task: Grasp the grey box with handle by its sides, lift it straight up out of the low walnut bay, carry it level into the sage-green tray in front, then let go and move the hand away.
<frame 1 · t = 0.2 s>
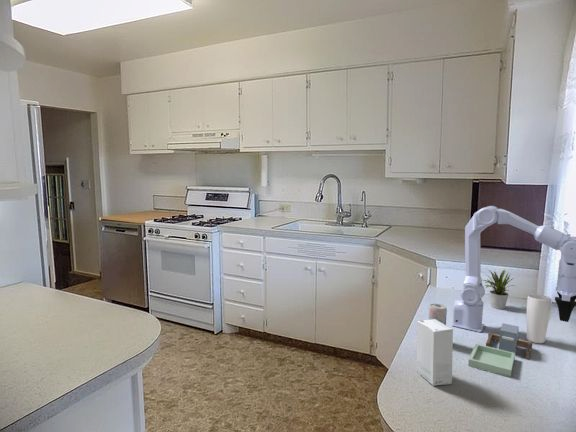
hand: (564, 317, 122), 10 cm above the countertop, tool pointing down, fingers open, 7 cm apart
grey box with handle: (508, 339, 121), in the bay
house plant: (496, 306, 162), on the countertop
skincare box: (432, 378, 104), on the countertop
energy drink: (435, 342, 126), on the countertop
bay: (507, 349, 122), on the countertop
tray: (491, 362, 113), on the countertop
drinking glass: (535, 341, 129), on the countertop
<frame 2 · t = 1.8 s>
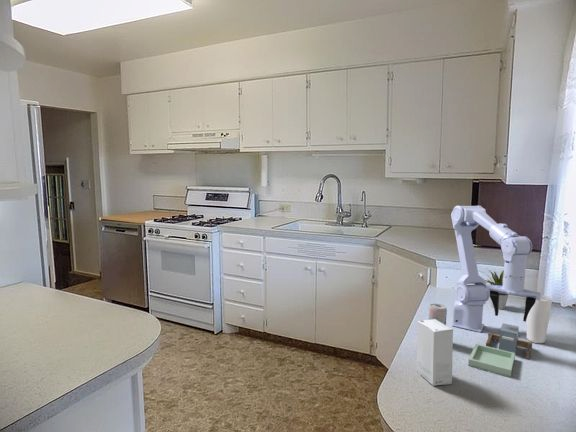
hand: (510, 317, 121), 10 cm above the countertop, tool pointing down, fingers open, 7 cm apart
nothing on the countertop moved.
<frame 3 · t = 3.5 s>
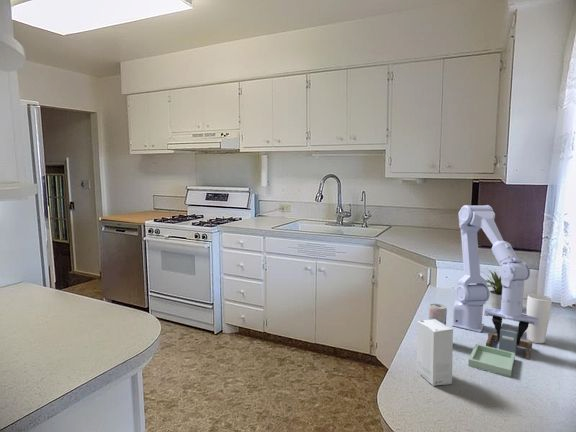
hand: (508, 341, 121), 2 cm above the countertop, tool pointing down, fingers closed on grey box with handle, 4 cm apart
grey box with handle: (508, 339, 121), in the bay, touching gripper
everything else where it was.
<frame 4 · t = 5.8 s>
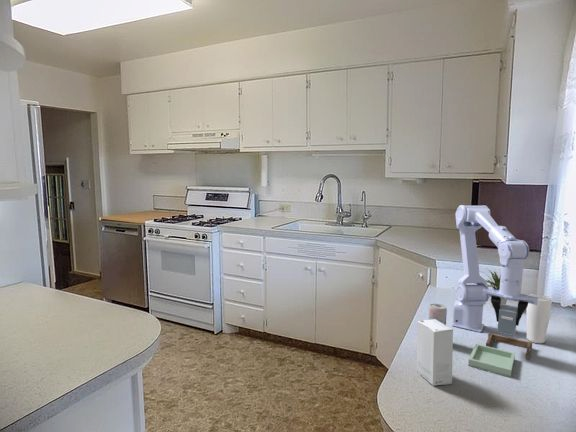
hand: (507, 322, 119), 9 cm above the countertop, tool pointing down, fingers closed on grey box with handle, 4 cm apart
grey box with handle: (507, 319, 119), point 10 cm above the countertop, touching gripper
everything else where it was.
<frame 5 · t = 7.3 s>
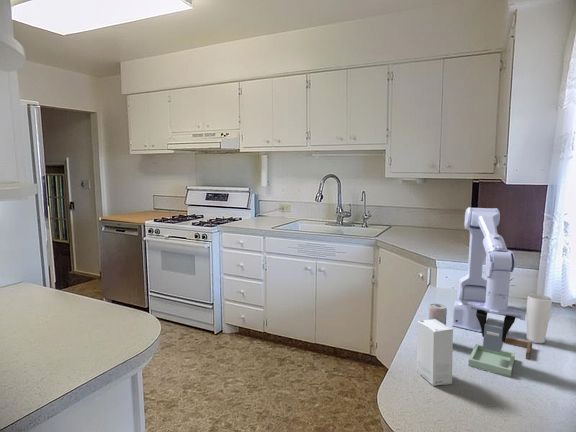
hand: (493, 338, 112), 8 cm above the countertop, tool pointing down, fingers closed on grey box with handle, 4 cm apart
grey box with handle: (493, 334, 112), point 8 cm above the countertop, touching gripper
everything else where it was.
when the fingers open (4 cm above the countertop, at t = 8.5 s): grey box with handle stays where it is, resting on tray.
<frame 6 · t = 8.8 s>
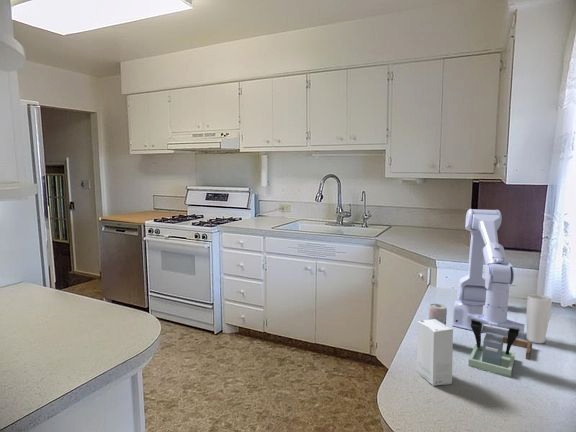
hand: (492, 349, 112), 4 cm above the countertop, tool pointing down, fingers open, 7 cm apart
grey box with handle: (492, 349, 112), in the tray
everything else where it was.
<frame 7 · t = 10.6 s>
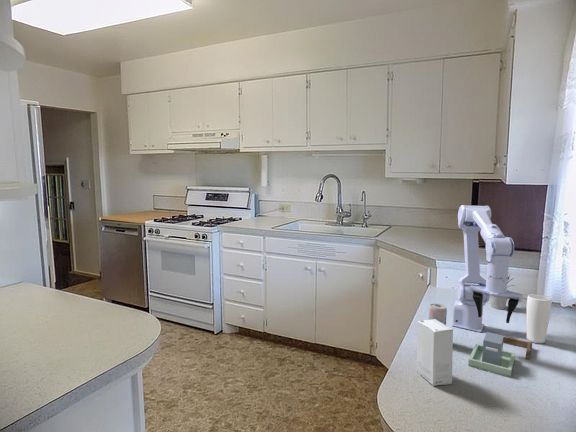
hand: (493, 319, 119), 10 cm above the countertop, tool pointing down, fingers open, 7 cm apart
nothing on the countertop moved.
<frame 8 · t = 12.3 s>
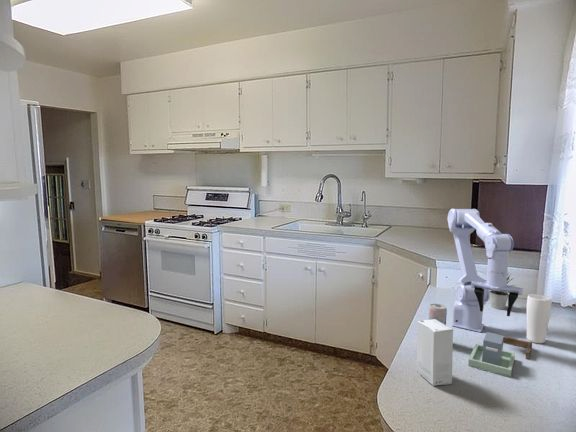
hand: (494, 313, 124), 10 cm above the countertop, tool pointing down, fingers open, 7 cm apart
nothing on the countertop moved.
at the end: grey box with handle 0.1 cm off-centre on the tray, point 4.0 cm above the tray's base; grey box with handle tilted 0°; the gripper is holding nothing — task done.
